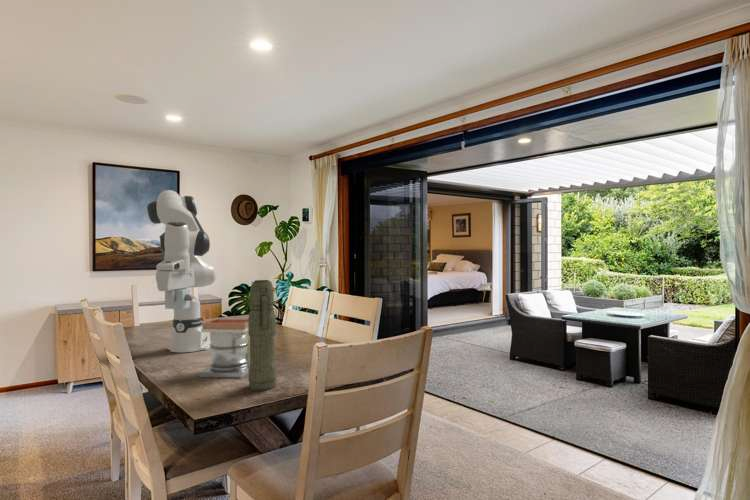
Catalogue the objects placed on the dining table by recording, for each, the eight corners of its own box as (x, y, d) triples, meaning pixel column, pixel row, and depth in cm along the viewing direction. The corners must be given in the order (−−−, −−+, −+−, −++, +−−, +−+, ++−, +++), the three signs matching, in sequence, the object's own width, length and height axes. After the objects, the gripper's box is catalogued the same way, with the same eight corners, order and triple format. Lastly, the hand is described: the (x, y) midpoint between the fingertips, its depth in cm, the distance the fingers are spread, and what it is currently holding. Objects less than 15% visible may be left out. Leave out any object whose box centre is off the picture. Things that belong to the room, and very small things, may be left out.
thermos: (254, 393, 140) (253, 282, 140) (244, 384, 150) (243, 280, 150) (281, 389, 144) (280, 281, 144) (270, 380, 154) (269, 279, 154)
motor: (219, 365, 175) (218, 317, 175) (258, 365, 173) (258, 318, 173) (198, 376, 159) (198, 324, 159) (241, 377, 157) (241, 325, 157)
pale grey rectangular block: (172, 306, 172) (172, 288, 172) (194, 307, 171) (194, 288, 171) (165, 308, 167) (164, 290, 167) (187, 309, 166) (187, 290, 166)
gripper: (183, 263, 180) (184, 297, 180) (153, 265, 159) (153, 304, 160) (198, 263, 179) (198, 297, 179) (170, 265, 159) (170, 304, 159)
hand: (177, 300), depth 169 cm, fingers closed on pale grey rectangular block, 5 cm apart
